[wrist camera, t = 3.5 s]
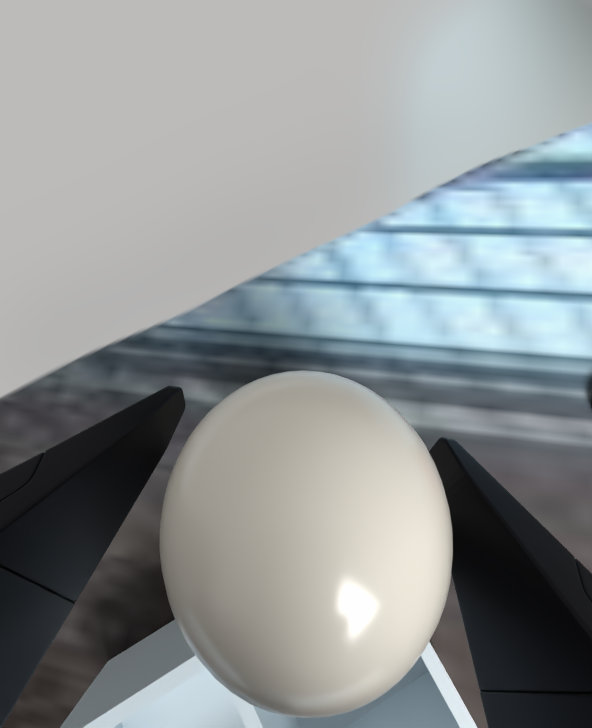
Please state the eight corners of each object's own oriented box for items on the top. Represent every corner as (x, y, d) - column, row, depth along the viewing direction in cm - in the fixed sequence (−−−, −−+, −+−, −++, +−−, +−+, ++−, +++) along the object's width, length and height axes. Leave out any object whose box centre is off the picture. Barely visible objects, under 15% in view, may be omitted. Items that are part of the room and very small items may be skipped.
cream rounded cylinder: (282, 494, 14) (190, 1107, 2) (241, 417, 15) (-19, 490, 3) (356, 450, 15) (686, 712, 2) (314, 376, 15) (388, 269, 3)
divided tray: (174, 835, 12) (124, 1013, 8) (108, 660, 13) (40, 754, 10) (436, 653, 13) (486, 744, 10) (354, 507, 14) (373, 541, 11)
